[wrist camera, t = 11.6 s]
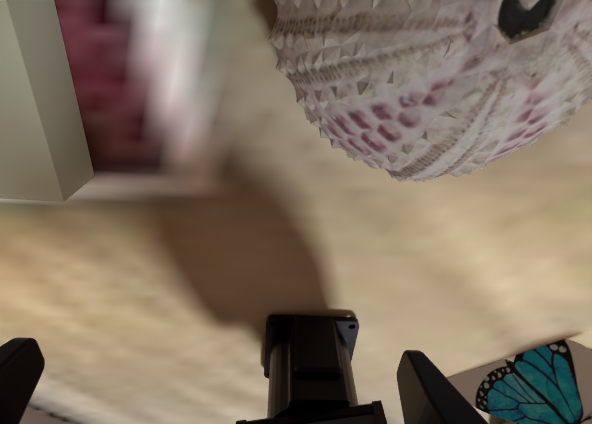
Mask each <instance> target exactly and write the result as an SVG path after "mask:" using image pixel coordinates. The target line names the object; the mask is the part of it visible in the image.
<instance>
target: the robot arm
mask: <svg viewBox="0 0 592 424" xmlns="http://www.w3.org/2000/svg"><path fill="white" fill-rule="evenodd" d="M272 321H275V322H272ZM351 324H353V325H351ZM358 329H359V323H358V320H357V319H356V318H353V317H330V316H303V315H276V314H274V315H270V316H268V317H267V322H266V343H265V366H264V376H265V377H266V378H269V394H268V414H267V418H266V419H259V420H252V421H246V420H240V421H236V424H387V421H386V417H385V414H384V410H383V406H382V403H381V400H379V401H372V403H371V404H364V405H358V400H357V395H356V389H355V384H354V378H353V373H352V367H351V360H352V355H353V351H354V347H355V342H356V338H357V334H358ZM44 365H45V360H44V357H43V355H42V353H41V350H40V348H39V345H38V343H37V341H36V340H35V339H33V338H14V339H12V340H10V341H8V342H7V343H5V344H4V345H2V346H0V424H19V423H20V421H21V419H22V417H23V414H24V412H25V410H26V408H27V405H28V403H29V401H30V399H31V397H32V394H33V392H34V390H35V388H36V385H37V383H38V381H39V379H40V377H41V374H42V372H43V370H44ZM397 382H398V388H399V394H400V400H401V405H402V411H403V417H404V423H405V424H488V422H487V421H486V420H485V419H484V418H483V417H482V416H481V415H480V414H479V413H478V412H477V411H476V409H475V408H474V407H473V406H472V405H471V404H470V403H469V402H468V401H467V400H466V399H465V398H464V396H463V395H462V394H461V393H460V392H459V391H458V390H457V389H456V388H455V387H454V386H453V385H452V383H451V382H450V381H449V380H448V379H447V378H446V377H445V376H444V375H443V374H442V373H441V372H440V370H439V369H438V368H437V367H436V366H435V365H434V364H433V363H432V362H431V361H430V360H429V359H428V357H427V356H426V355H425V354H424V353H423V352H421V351H418V350H406V351H404V353H403V355H402V358H401V361H400V364H399V367H398V370H397Z"/></svg>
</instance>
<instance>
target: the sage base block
mask: <svg viewBox="0 0 592 424" xmlns="http://www.w3.org/2000/svg"><path fill="white" fill-rule="evenodd" d="M93 177H94V172H93V167H92V163H91V158H90V154H89V150H88V145H87V141H86V137H85V132H84V128H83V124H82V119H81V115H80V111H79V106H78V102H77V97H76V93H75V89H74V84H73V80H72V76H71V71H70V67H69V63H68V58H67V54H66V50H65V45H64V41H63V36H62V32H61V28H60V23H59V19H58V15H57V10H56V6H55V2H54V0H0V198H4V199H23V200H42V201H61V202H64V201H65V200H67V199H68V198H69V197H70V196H71V195H73V194H74V193H75V192H76V191H77V190H79V189H80V188H81V187H82V186H83V185H84V184H86V183H87V182H88V181H89V180H90V179H92V178H93Z"/></svg>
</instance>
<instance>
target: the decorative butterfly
mask: <svg viewBox="0 0 592 424" xmlns="http://www.w3.org/2000/svg"><path fill="white" fill-rule="evenodd" d="M447 379H448V380H449V381H450V382H451V383H452V385H453V386H454V387H455V388H456V389H457V390H458V391H459V392H460V393H461V394H462V395H463V396H464V398H465V399H466V400H467V401H468V402H469V403H470V404H471V405H472V406H474V407H476V408H478V409H480V410H481V411H483V412H486V413H488V414H490V415H493V416H495V417H498V418H501V419H504V420H507V421H505V422H504V423H502V424H592V351H591V350H589V349H588V348H586V347H585V346H583V345H581V344H579V343H577V342H574V341H571V340H567V339H564V340H560V341H557V342H554V343H551V344H548V345H545V346H542V347H539V348H536V349H533V350H530V351H527V352H524V353H521V354H518V355H516V357H515V360H514V362H511V361H510V360H506V359H502V360H499V361H496V362H494V363H491V364H489V365H486V366H482V367H479V368H475V369H472V370H469V371H466V372H463V373H460V374H456V375H453V376H450V377H447Z"/></svg>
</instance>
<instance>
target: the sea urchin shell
mask: <svg viewBox="0 0 592 424" xmlns="http://www.w3.org/2000/svg"><path fill="white" fill-rule="evenodd" d="M274 2H275V3H276V5H277V9H278V16H277V19H276V22H275V25H274V28H273V31H272V33H271V35H270V37H269V39H268V41H269V42H270V43H271V44H272V45H273V46H274V47H275V48H276V50H277V54H278V58H279V59H278V63H277V66H276V69H278V70H279V71H281V72H282V73H284V74H285V75H286V77H287V78H288V79H289V80H290V81H291V82H292V84H293V85H294V87H295V90H296V97H297V103H298V104H299V105H301V106H302V107H303V108H304V110H305V114H306V118H307V120H309V121H310V123H311V124H313V125H315V126H318V127H319V130H320V135H321V138H327V139H330V141H331V145H332V148H342V149H343V150H345V151H346V153H347V156H348V158H353V161H357V160H363V161H364V163H367V164H368V166H369V167H371V168H374V169H379V168H380V169H386V170H387V171H388V173H389V174H390V176H391V177H392V178H394V177H395V178H396V179H397V180H398V181H399V182H402V181H407V180H414V181H416V182H417V183H418V182H419V181H423V182H424V181H426V180H431V179H433V178H436V177H439V176H441V175H444V174H450V175H453V176H456V177H459V176H461V175H462V174H463V173H465V174H470V173H471V172H472V171H473V170H474V169H475V170H482V168H483V167H484V166H485V165H486V164H487V163H489V162H492V161H495V160H497V159H499V158H502V157H504V156H506V155H508V154H510V153H512V152H514V151H516V150H518V149H520V148H522V147H524V146H531V145H532V143H533V142H536V141H537V140H538V139H539V137H540V136H541V135H542V134H543V133H546V132H549V131H553V130H556V129H560V127H561V125H568V123H569V120H570V117H573V116H574V113H575V111H576V110H577V109H579V108H580V107H581V106H583V105H584V104H585V103H586V102H588V101H589V100H590V99H592V0H274Z"/></svg>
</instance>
